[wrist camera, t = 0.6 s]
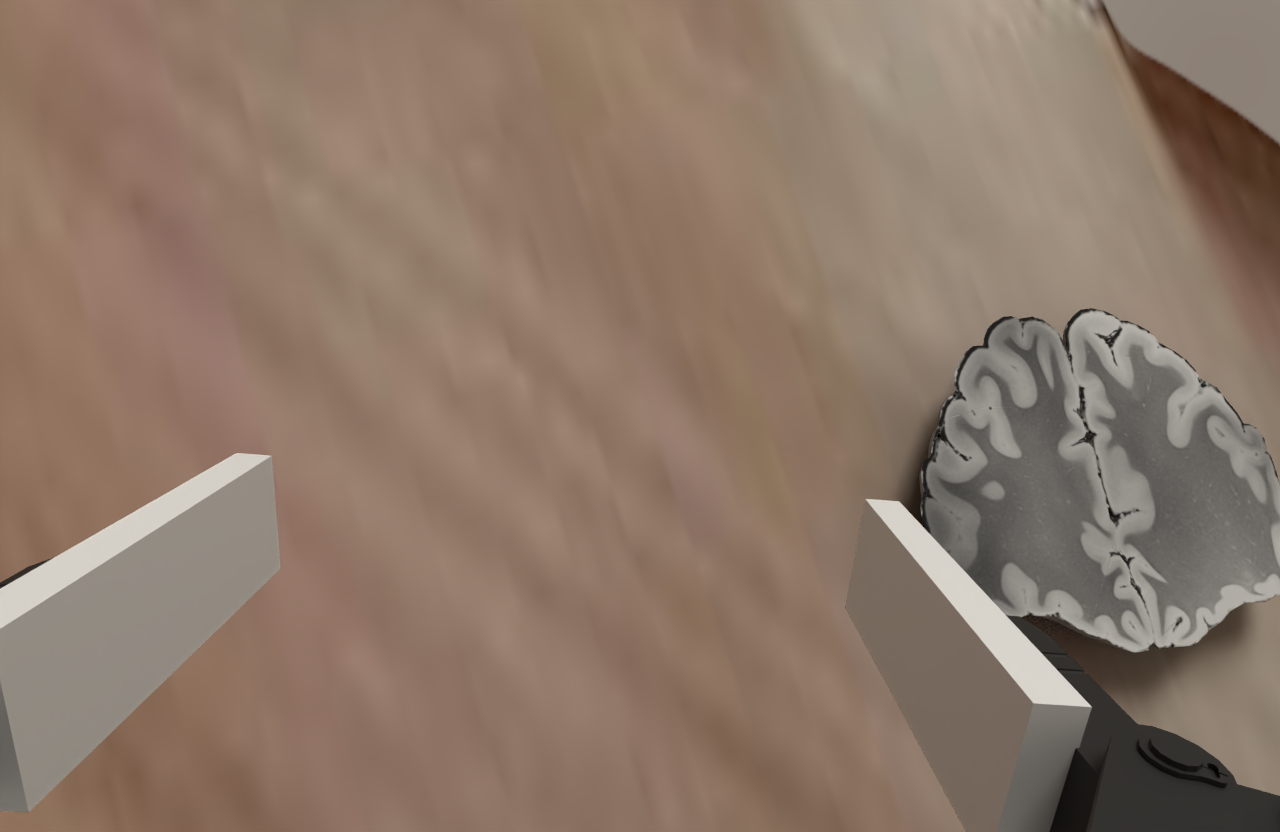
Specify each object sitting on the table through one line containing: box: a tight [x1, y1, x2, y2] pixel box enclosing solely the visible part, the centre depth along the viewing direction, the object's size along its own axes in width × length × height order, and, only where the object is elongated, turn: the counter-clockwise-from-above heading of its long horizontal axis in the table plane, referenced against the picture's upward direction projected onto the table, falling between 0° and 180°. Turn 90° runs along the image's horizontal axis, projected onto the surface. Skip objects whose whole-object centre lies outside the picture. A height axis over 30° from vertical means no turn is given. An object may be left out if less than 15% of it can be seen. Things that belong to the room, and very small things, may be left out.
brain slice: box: [919, 308, 1280, 653], centre depth 34 cm, size 20×17×3 cm
